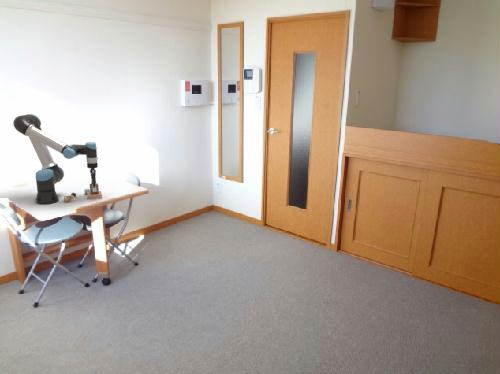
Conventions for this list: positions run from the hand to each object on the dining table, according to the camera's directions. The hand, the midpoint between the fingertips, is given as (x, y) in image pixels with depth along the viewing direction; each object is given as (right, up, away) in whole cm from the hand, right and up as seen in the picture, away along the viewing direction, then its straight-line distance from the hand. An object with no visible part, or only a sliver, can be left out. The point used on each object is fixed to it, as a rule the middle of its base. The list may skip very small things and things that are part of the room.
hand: (94, 189), depth 303 cm
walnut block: (0, -3, +1) cm, 3 cm away
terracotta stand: (0, -6, +2) cm, 6 cm away
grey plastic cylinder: (-8, -4, +8) cm, 12 cm away
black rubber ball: (-15, -4, -1) cm, 16 cm away
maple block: (-14, -9, -11) cm, 20 cm away
